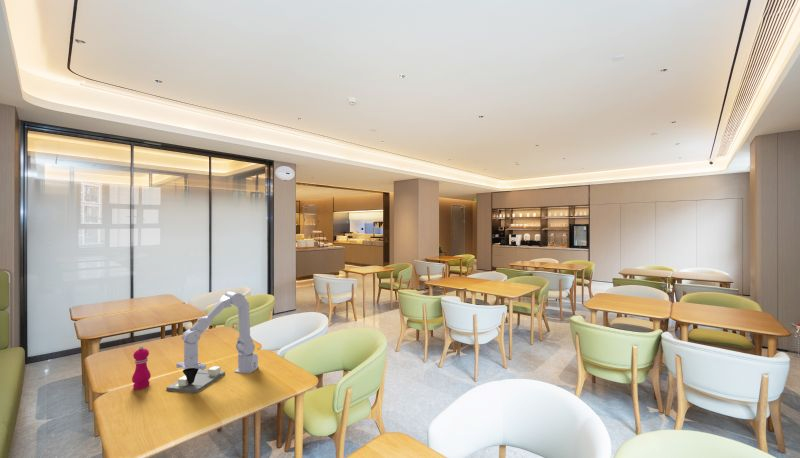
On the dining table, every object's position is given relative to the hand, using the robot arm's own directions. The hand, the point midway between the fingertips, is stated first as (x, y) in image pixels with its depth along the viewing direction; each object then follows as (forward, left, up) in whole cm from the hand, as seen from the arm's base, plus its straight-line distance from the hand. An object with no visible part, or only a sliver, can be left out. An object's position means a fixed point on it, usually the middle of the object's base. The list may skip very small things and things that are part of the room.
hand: (191, 382), depth 162 cm
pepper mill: (+25, +3, -3) cm, 25 cm away
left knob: (+3, 0, -1) cm, 3 cm away
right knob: (-3, -12, -1) cm, 12 cm away
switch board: (+2, -6, -2) cm, 7 cm away
